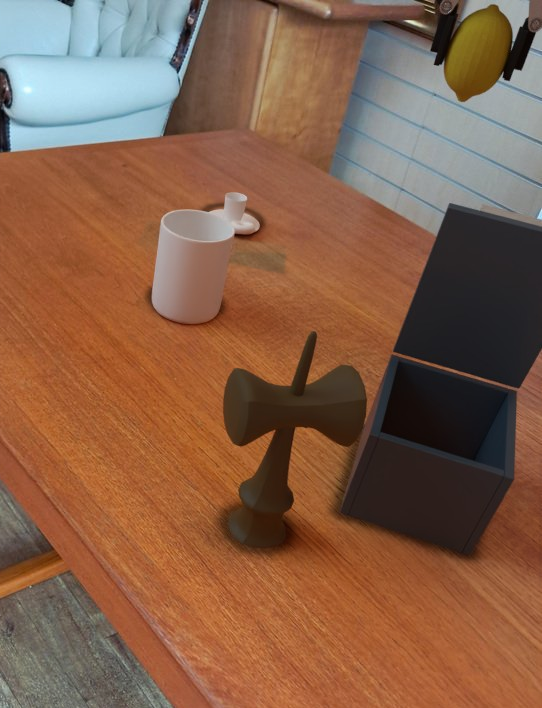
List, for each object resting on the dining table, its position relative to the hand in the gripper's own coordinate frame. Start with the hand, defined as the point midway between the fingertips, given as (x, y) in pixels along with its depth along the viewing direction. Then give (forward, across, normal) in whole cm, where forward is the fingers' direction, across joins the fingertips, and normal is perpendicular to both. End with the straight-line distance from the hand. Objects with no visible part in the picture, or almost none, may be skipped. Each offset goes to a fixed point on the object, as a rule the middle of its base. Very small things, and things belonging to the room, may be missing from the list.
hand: (472, 67), depth 73 cm
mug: (+30, +23, +2) cm, 38 cm away
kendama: (+30, +5, +37) cm, 48 cm away
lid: (+13, -7, +19) cm, 24 cm away
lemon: (+3, 0, 0) cm, 3 cm away
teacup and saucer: (+30, +26, -20) cm, 45 cm away
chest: (+30, -7, +24) cm, 40 cm away
